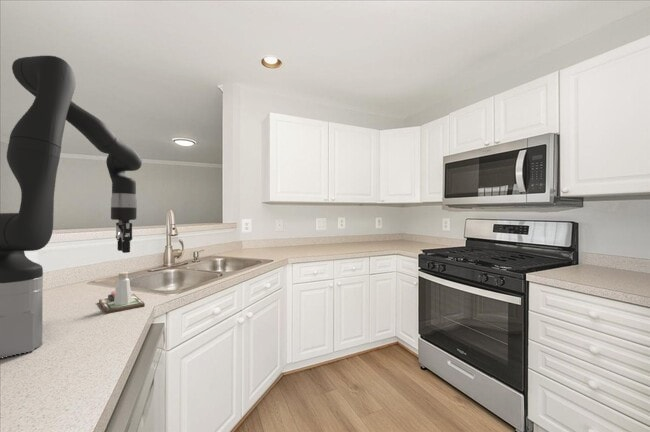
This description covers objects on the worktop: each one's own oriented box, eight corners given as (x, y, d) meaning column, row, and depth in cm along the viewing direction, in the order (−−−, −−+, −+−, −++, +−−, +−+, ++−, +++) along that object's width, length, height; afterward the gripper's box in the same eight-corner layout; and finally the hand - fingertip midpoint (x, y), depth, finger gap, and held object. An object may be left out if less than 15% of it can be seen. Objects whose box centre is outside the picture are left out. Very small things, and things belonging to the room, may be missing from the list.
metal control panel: (144, 306, 101) (144, 299, 101) (106, 313, 93) (106, 306, 93) (133, 296, 112) (133, 290, 112) (99, 302, 105) (99, 295, 105)
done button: (126, 295, 106) (126, 291, 106) (113, 298, 103) (113, 293, 103) (124, 293, 109) (124, 289, 109) (111, 295, 106) (111, 291, 106)
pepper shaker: (110, 304, 99) (110, 273, 99) (125, 300, 104) (126, 270, 104) (119, 306, 97) (120, 274, 97) (135, 301, 102) (135, 271, 102)
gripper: (141, 206, 98) (140, 252, 98) (132, 207, 108) (131, 249, 108) (114, 205, 93) (114, 254, 92) (107, 206, 103) (107, 250, 102)
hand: (123, 251), depth 100 cm, fingers open, 8 cm apart
